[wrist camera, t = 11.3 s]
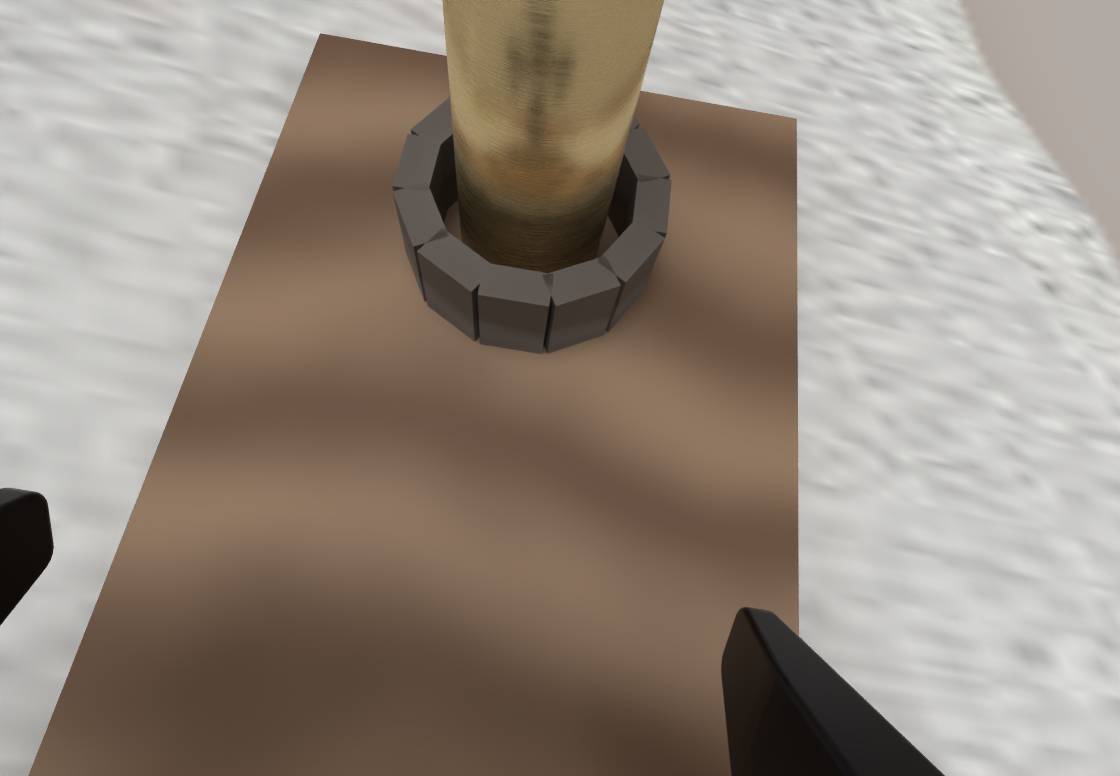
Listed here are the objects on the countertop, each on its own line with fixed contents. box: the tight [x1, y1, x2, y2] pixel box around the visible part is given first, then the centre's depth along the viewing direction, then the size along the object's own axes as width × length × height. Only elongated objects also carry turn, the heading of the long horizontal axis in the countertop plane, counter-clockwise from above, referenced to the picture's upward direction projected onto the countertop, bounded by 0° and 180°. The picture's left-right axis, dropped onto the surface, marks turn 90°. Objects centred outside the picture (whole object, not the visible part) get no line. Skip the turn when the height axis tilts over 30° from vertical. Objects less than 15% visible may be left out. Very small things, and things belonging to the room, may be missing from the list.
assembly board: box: [29, 33, 799, 776], centre depth 18 cm, size 30×18×4 cm, turn 172°
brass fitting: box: [442, 0, 664, 273], centre depth 15 cm, size 4×4×13 cm
